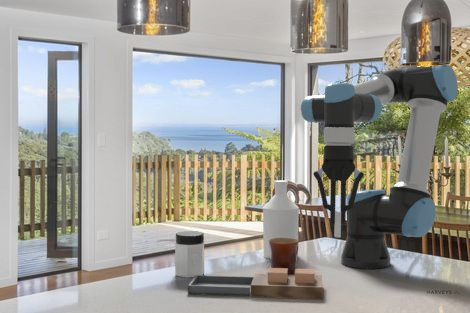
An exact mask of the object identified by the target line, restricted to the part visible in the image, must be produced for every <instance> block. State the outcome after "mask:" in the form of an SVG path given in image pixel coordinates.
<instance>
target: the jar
mask: <svg viewBox="0 0 470 313" xmlns="http://www.w3.org/2000/svg"><path fill="white" fill-rule="evenodd" d="M204 235H205V234H204V232H202V231H194V230H189V231H188V230H186V231H185V230H184V231H179V232H177V233H175V244H174V248H175V249H174V253H175V254H174V256H175V257H174V264H175V274H174V275H175V276H178V277H181V278H188V279H190V278H194V277H195V276H196V275H203V274H204V273H205V237H204Z"/></svg>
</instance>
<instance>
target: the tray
mask: <svg viewBox="0 0 470 313" xmlns="http://www.w3.org/2000/svg"><path fill="white" fill-rule="evenodd" d="M192 278H193V279H192V280H191V281H190V282H189V284H188V285H187V295H201V296H202V295H210V296H234V297H235V296H237V297H251V283H252V281H253V278H254V276H239V275H238V276H236V275H212V274H211V275H210V274H209V275H205V274H204V275H196V276H195V277H192Z"/></svg>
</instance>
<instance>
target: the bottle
mask: <svg viewBox="0 0 470 313" xmlns="http://www.w3.org/2000/svg"><path fill="white" fill-rule="evenodd" d="M288 184H289V182H288V180H283V179H282V180H273V185H274V195H273V196H272V197H271V198H270V199H269V201H268V202H266V203H265V205H263V207H262V225H263V226H262V227H263V230H262V232H263V233H262V234H263V236H262V237H263V257H264V258H267V259H269V258H270V260H271V248H270V244H269V240H270V239H273V238H293V239H297V240H299V219H300V218H299V215H300V213H299V212H300V211H299V210H300V208H299V206H298V205H297V204H296V203H295V202H294V201H293V200H292V199H291V198H290V197H289V196H288V194H287V193H288V192H287V191H288ZM298 255H299V253H298V254H297V258H298V257H299V256H298Z"/></svg>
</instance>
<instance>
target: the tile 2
mask: <svg viewBox="0 0 470 313" xmlns="http://www.w3.org/2000/svg"><path fill="white" fill-rule="evenodd" d="M315 274H316V273H315V269H314V268H297V269H295V283H315Z"/></svg>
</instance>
